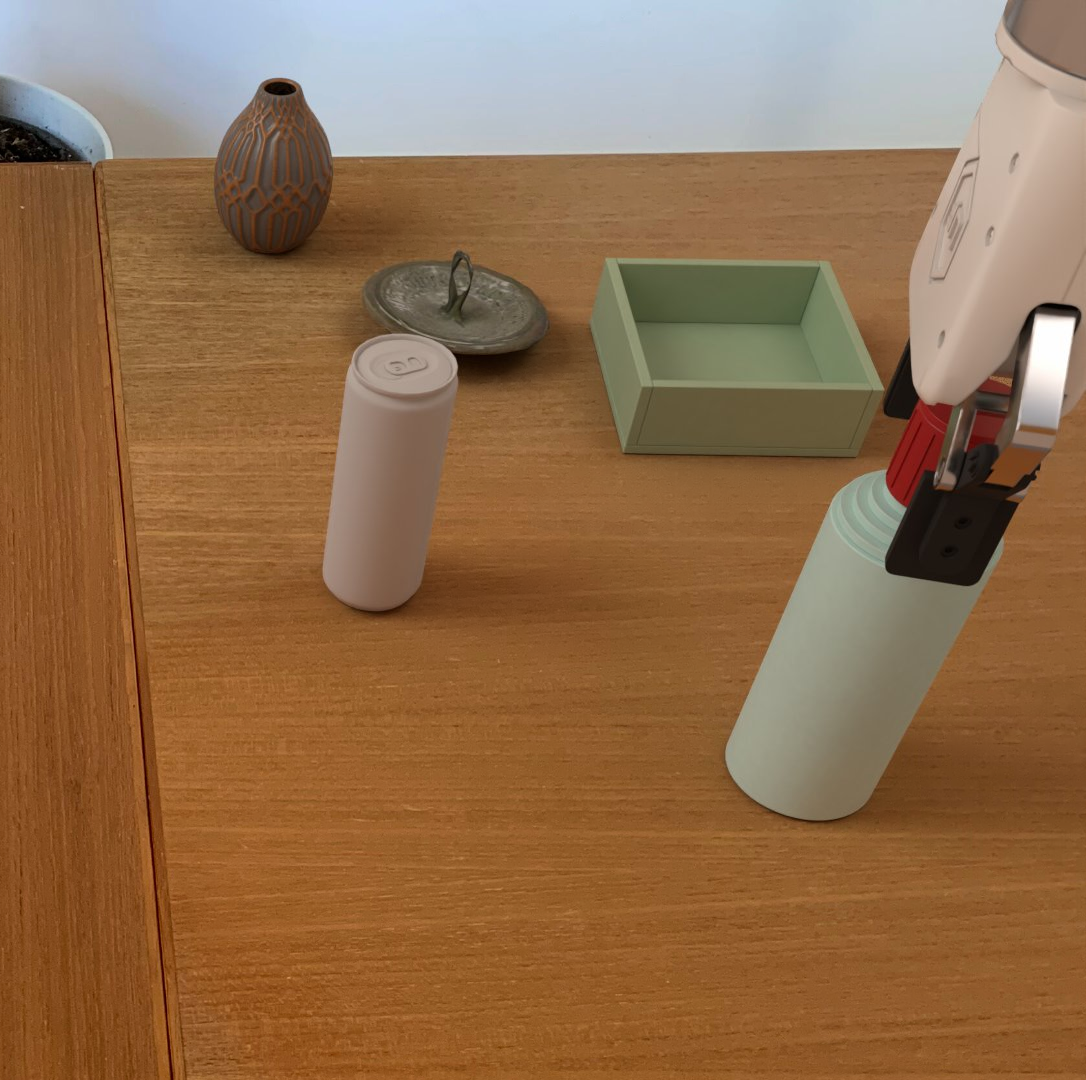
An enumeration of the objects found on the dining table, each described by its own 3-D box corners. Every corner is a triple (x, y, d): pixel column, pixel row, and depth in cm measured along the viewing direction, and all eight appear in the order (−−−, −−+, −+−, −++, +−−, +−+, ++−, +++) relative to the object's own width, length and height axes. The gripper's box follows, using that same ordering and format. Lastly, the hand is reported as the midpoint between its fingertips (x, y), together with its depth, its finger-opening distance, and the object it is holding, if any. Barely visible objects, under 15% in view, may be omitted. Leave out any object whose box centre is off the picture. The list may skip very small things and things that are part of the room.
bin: (805, 327, 96) (829, 260, 92) (857, 457, 88) (885, 390, 85) (589, 323, 96) (605, 257, 93) (622, 453, 88) (641, 386, 85)
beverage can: (303, 567, 83) (328, 346, 73) (390, 542, 84) (425, 321, 74) (350, 627, 80) (382, 406, 70) (438, 601, 81) (482, 379, 72)
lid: (340, 383, 95) (349, 316, 90) (375, 252, 98) (387, 182, 94) (527, 418, 93) (546, 353, 89) (556, 285, 97) (576, 216, 92)
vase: (268, 280, 98) (280, 129, 92) (187, 234, 102) (193, 84, 95) (350, 239, 101) (367, 89, 94) (269, 195, 104) (280, 47, 97)
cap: (980, 461, 64) (1022, 377, 61) (1005, 526, 61) (1051, 442, 58) (874, 454, 64) (911, 370, 61) (895, 519, 61) (935, 434, 59)
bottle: (852, 719, 76) (1033, 361, 62) (890, 823, 72) (1093, 465, 58) (711, 715, 76) (860, 355, 62) (741, 819, 72) (908, 460, 58)
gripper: (1000, -124, 55) (824, 351, 68) (1032, 127, 45) (817, 625, 58) (1248, -100, 54) (1018, 379, 67) (1338, 163, 44) (1046, 664, 57)
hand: (925, 493), depth 63 cm, fingers open, 9 cm apart
